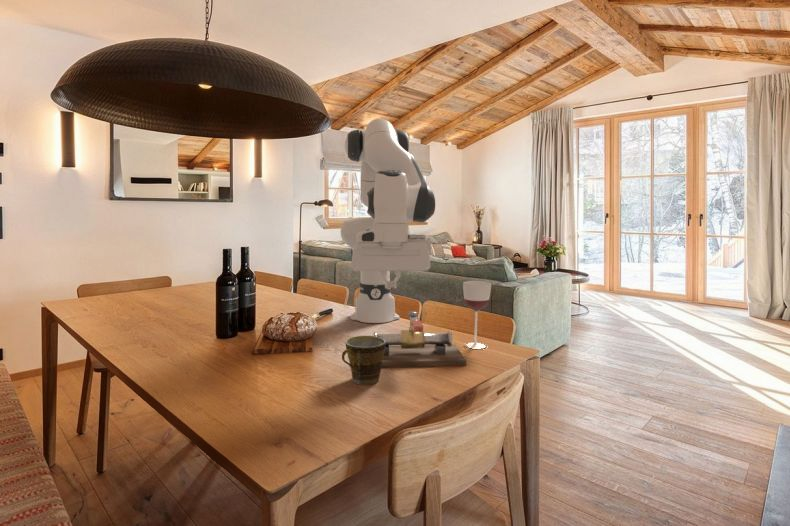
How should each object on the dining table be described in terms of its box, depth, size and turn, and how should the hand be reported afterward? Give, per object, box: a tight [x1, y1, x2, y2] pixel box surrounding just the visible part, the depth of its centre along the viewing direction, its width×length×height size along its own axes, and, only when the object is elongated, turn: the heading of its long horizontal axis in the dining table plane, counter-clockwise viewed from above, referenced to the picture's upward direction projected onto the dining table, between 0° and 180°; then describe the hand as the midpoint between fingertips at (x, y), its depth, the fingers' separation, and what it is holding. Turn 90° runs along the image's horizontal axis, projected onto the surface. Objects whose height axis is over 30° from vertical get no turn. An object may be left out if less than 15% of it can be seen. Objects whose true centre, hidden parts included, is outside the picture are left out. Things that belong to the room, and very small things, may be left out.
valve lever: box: [407, 310, 424, 332], centre depth 123 cm, size 14×3×4 cm, turn 5°
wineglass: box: [462, 280, 492, 350], centre depth 141 cm, size 8×9×20 cm
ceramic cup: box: [341, 335, 386, 386], centre depth 112 cm, size 13×10×10 cm
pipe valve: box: [373, 326, 453, 356], centre depth 130 cm, size 5×22×8 cm, turn 95°
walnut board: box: [381, 344, 467, 368], centre depth 131 cm, size 14×28×2 cm, turn 95°
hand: (390, 288), depth 117 cm, fingers closed
